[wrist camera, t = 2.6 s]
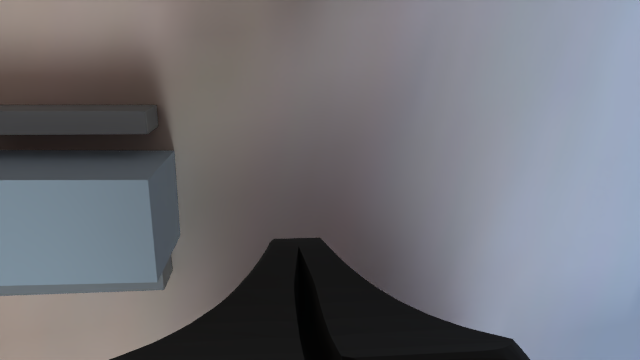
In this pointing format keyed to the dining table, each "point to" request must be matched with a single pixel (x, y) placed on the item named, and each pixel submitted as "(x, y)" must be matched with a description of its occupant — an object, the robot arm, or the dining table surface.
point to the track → (74, 123)
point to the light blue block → (86, 216)
